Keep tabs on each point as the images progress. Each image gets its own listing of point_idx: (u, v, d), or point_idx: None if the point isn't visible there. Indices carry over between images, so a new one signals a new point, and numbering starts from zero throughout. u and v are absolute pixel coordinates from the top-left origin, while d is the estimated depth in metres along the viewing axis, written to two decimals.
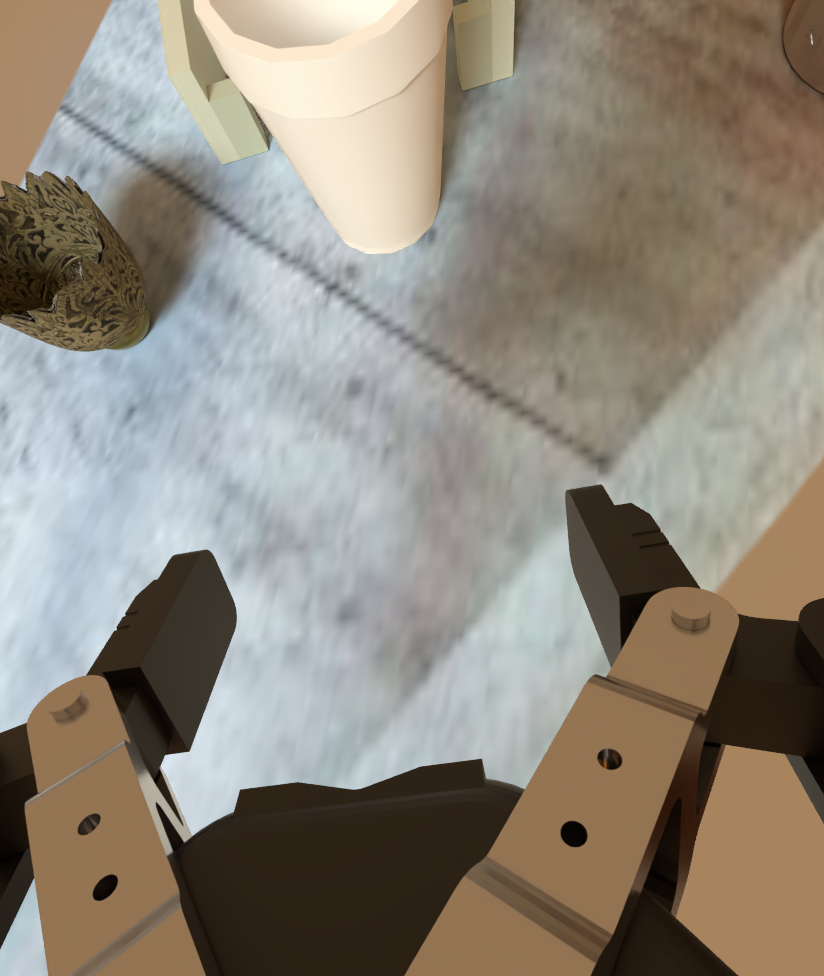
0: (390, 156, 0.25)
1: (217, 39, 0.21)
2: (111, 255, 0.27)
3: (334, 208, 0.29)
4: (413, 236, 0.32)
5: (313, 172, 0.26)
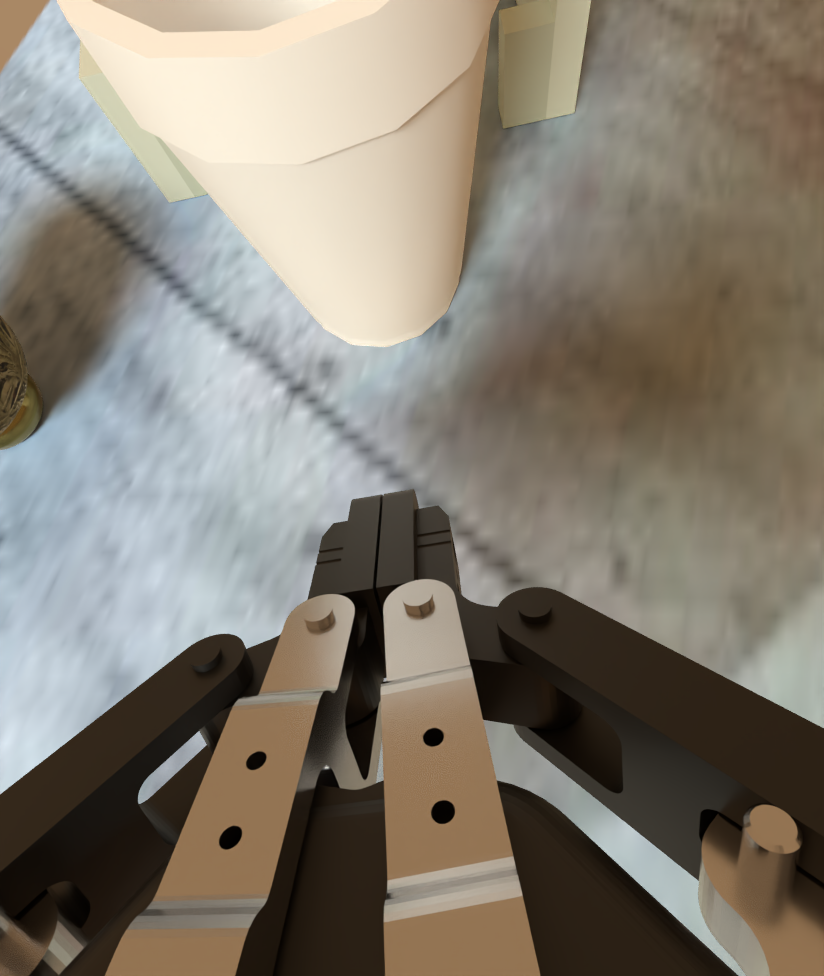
0: (381, 227, 0.16)
1: (62, 9, 0.11)
2: None
3: (300, 288, 0.19)
4: (417, 328, 0.22)
5: (261, 239, 0.17)
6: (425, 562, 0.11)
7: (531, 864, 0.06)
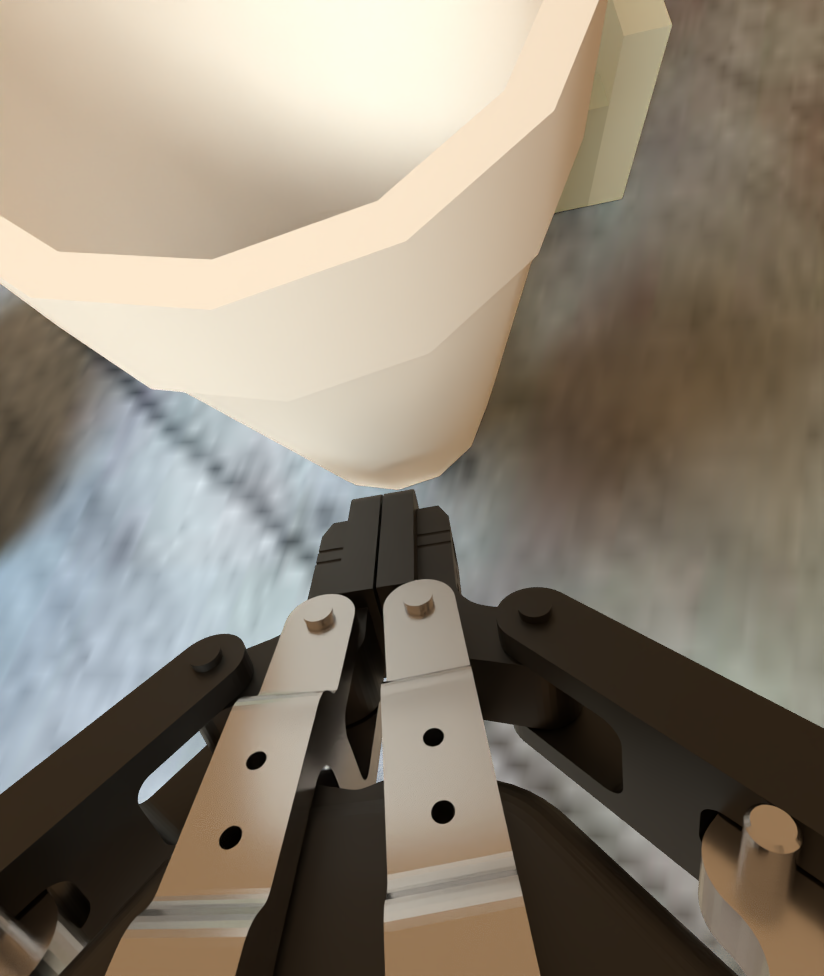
0: (399, 420, 0.11)
1: None
2: None
3: None
4: (436, 472, 0.18)
5: None
6: (425, 562, 0.11)
7: (531, 864, 0.06)
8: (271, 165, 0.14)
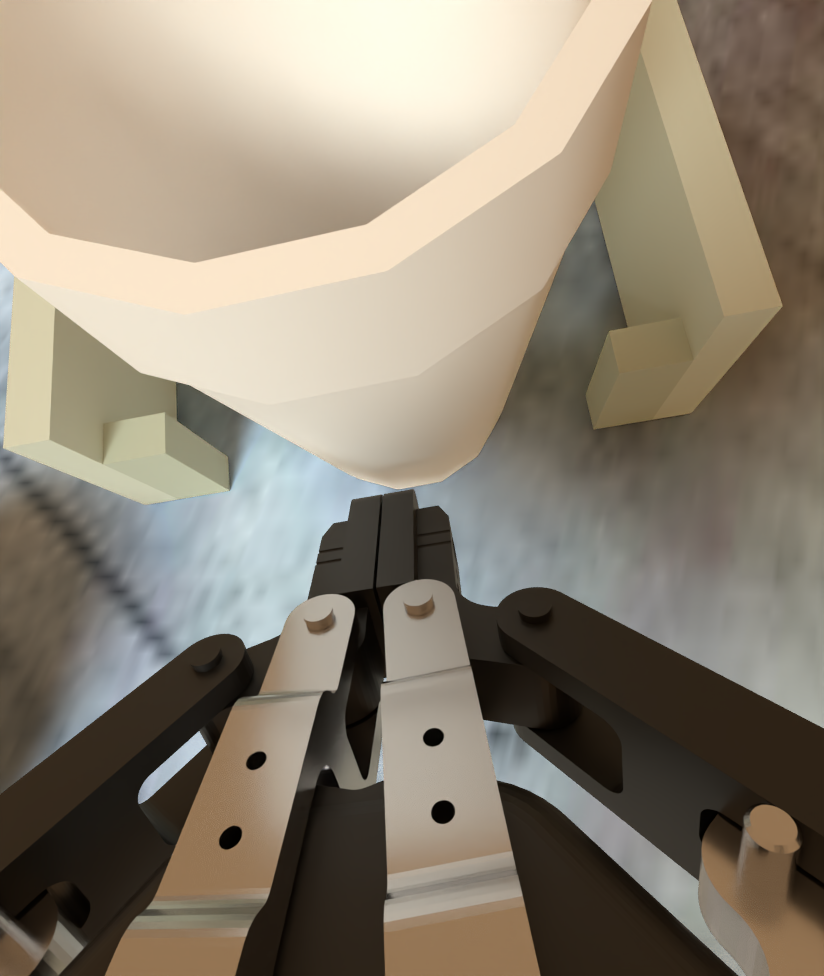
0: (394, 429, 0.11)
1: None
2: None
3: None
4: (438, 478, 0.18)
5: None
6: (425, 562, 0.11)
7: (531, 864, 0.06)
8: (308, 151, 0.14)
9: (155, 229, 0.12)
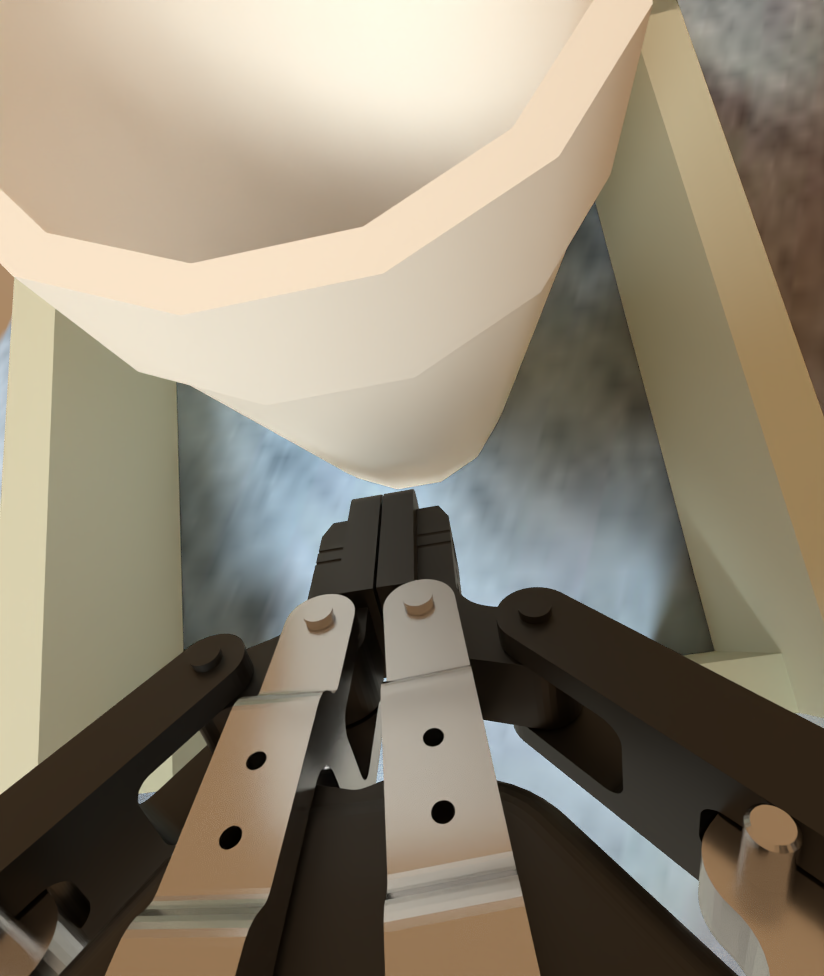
0: (392, 430, 0.11)
1: None
2: None
3: None
4: (437, 478, 0.18)
5: None
6: (425, 562, 0.11)
7: (531, 864, 0.06)
8: (310, 150, 0.14)
9: (155, 227, 0.12)
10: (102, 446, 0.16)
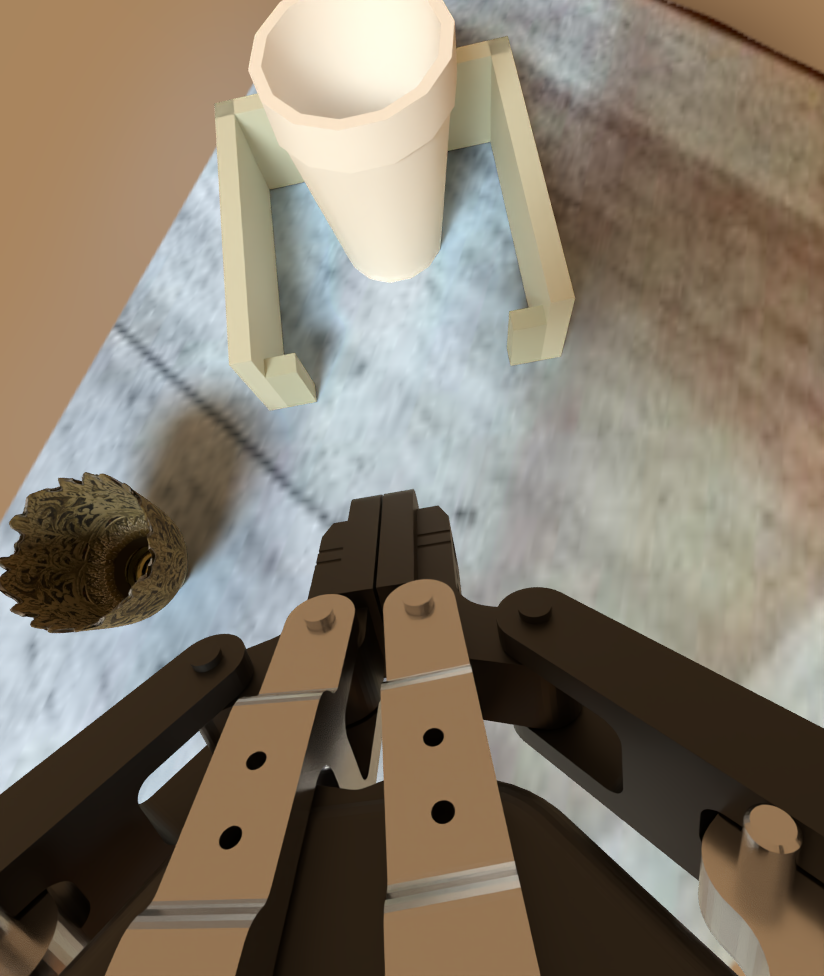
0: (387, 208, 0.30)
1: (259, 95, 0.26)
2: (160, 561, 0.28)
3: (342, 237, 0.34)
4: (409, 273, 0.37)
5: (326, 206, 0.32)
6: (425, 562, 0.11)
7: (531, 864, 0.06)
8: (352, 109, 0.33)
9: None
10: (254, 246, 0.35)
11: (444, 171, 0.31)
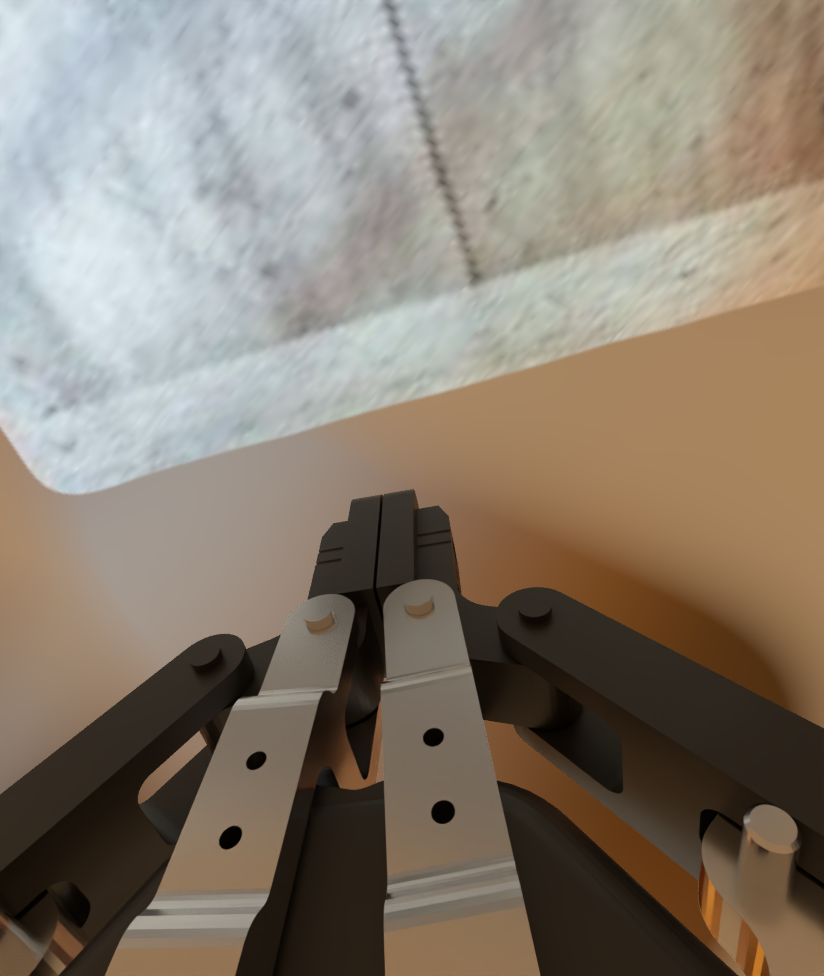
0: None
1: None
2: None
3: None
4: None
5: None
6: (425, 562, 0.11)
7: (531, 864, 0.06)
8: None
9: None
10: None
11: None
